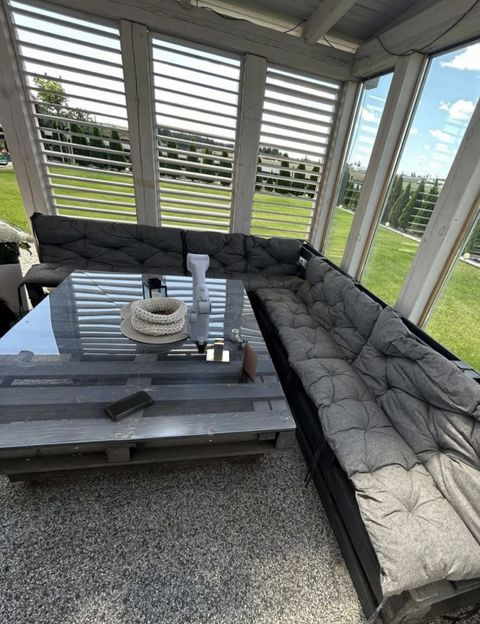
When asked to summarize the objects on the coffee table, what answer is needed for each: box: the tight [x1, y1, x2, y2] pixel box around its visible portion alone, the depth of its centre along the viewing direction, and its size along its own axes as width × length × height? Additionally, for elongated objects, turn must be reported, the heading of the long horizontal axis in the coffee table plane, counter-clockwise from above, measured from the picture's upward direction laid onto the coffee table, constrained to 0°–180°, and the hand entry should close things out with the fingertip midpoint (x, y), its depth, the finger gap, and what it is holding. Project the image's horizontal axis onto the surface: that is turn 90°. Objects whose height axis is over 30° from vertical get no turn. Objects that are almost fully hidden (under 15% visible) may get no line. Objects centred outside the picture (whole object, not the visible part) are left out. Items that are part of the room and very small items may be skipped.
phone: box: [104, 390, 153, 421], centre depth 110 cm, size 8×1×15 cm
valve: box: [230, 328, 250, 351], centre depth 155 cm, size 7×7×12 cm
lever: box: [204, 340, 222, 353], centre depth 141 cm, size 12×3×3 cm, turn 97°
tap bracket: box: [206, 337, 230, 363], centre depth 142 cm, size 11×9×10 cm
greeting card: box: [239, 342, 260, 381], centre depth 132 cm, size 11×7×15 cm, turn 178°
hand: (201, 348), depth 141 cm, fingers open, 7 cm apart
